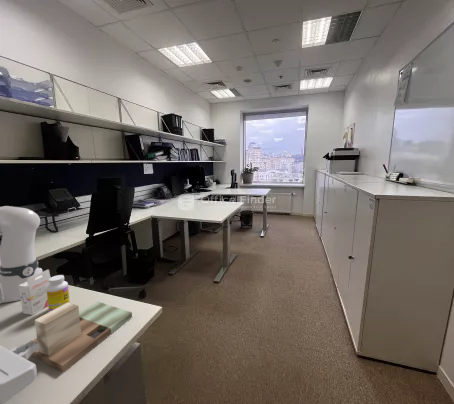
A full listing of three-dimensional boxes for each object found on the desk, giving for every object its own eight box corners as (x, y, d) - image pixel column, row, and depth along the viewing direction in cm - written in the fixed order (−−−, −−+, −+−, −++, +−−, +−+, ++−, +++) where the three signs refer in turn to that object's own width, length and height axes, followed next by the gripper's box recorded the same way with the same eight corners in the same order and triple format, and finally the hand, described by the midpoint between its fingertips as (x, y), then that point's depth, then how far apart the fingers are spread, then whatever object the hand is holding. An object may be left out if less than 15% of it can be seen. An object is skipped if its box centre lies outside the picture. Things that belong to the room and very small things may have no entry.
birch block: (38, 351, 62) (34, 319, 61) (70, 330, 71) (67, 302, 69) (49, 356, 60) (45, 324, 59) (81, 334, 69) (78, 305, 67)
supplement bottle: (67, 311, 83) (63, 280, 82) (46, 315, 81) (42, 283, 79) (72, 301, 90) (69, 272, 88) (52, 305, 87) (49, 275, 85)
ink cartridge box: (44, 300, 90) (40, 267, 88) (54, 302, 89) (50, 268, 87) (21, 313, 82) (16, 277, 80) (32, 315, 81) (27, 279, 79)
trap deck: (24, 351, 64) (23, 346, 64) (97, 306, 87) (97, 301, 86) (63, 372, 58) (62, 365, 58) (132, 317, 80) (131, 312, 80)
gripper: (-59, 386, 50) (16, 343, 63) (-14, 423, 43) (60, 366, 56) (-64, 362, 49) (13, 323, 62) (-19, 396, 42) (58, 344, 55)
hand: (36, 344), depth 59 cm, fingers closed
